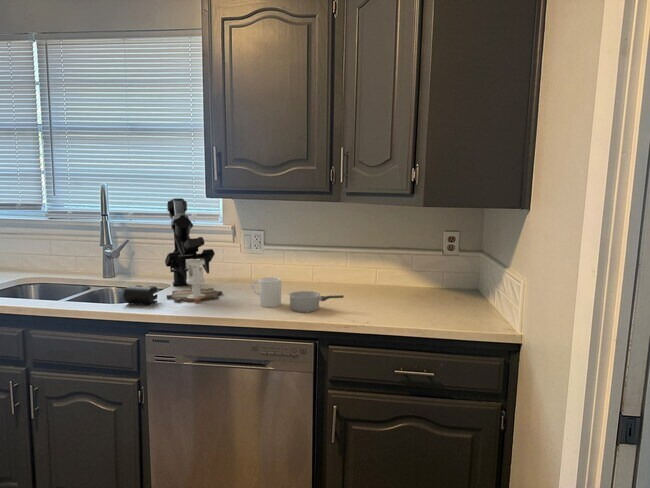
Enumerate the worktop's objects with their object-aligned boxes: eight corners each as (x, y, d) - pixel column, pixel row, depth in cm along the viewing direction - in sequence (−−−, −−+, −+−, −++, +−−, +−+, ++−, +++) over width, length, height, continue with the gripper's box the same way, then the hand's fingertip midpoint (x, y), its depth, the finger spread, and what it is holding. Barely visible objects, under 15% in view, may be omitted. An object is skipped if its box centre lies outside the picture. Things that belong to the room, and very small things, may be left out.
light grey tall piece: (185, 295, 173) (183, 258, 171) (202, 293, 177) (201, 256, 175) (190, 299, 168) (188, 260, 166) (208, 296, 171) (206, 258, 169)
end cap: (123, 305, 163) (122, 287, 162) (134, 301, 170) (133, 283, 169) (148, 307, 162) (148, 289, 161) (158, 302, 168) (158, 285, 168)
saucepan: (342, 315, 154) (342, 299, 154) (286, 313, 156) (286, 297, 155) (344, 306, 166) (344, 292, 165) (291, 304, 167) (291, 290, 167)
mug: (256, 300, 173) (255, 275, 172) (284, 303, 169) (284, 277, 168) (246, 305, 165) (246, 279, 164) (275, 308, 162) (275, 282, 160)
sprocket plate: (165, 292, 184) (165, 287, 183) (218, 288, 192) (218, 284, 191) (167, 305, 164) (167, 300, 163) (226, 300, 172) (226, 295, 172)
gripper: (166, 231, 166) (180, 264, 159) (212, 229, 178) (226, 259, 171) (159, 250, 172) (171, 282, 166) (203, 246, 185) (216, 276, 178)
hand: (197, 274), depth 170 cm, fingers open, 9 cm apart
